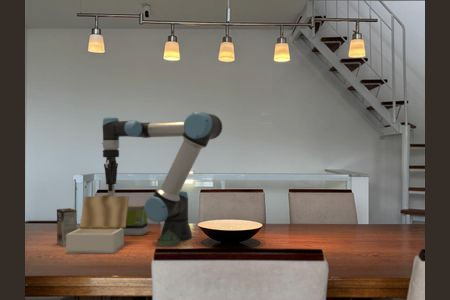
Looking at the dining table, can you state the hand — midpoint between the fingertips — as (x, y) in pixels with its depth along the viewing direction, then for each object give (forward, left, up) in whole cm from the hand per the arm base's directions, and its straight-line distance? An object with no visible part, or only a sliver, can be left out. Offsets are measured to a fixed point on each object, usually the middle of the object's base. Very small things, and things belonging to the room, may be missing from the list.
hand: (111, 197), depth 186 cm
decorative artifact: (-30, +9, -21) cm, 38 cm away
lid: (0, +10, -5) cm, 12 cm away
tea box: (-5, -15, -21) cm, 26 cm away
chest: (0, +19, -20) cm, 28 cm away
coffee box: (+18, +9, -21) cm, 29 cm away
